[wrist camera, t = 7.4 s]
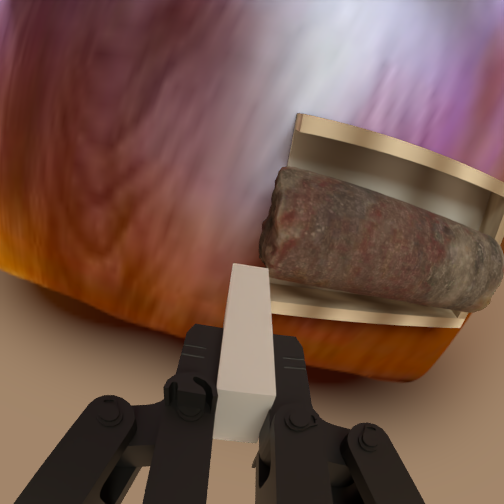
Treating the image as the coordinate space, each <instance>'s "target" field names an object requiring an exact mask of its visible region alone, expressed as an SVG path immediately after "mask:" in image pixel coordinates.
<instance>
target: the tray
mask: <svg viewBox="0 0 504 504" xmlns="http://www.w3.org/2000/svg"><path fill="white" fill-rule="evenodd" d="M287 166H293V167H297V168H300V169H304V170H308V171H312V172H315V173H318V174H322V175H326V176H329V177H333V178H336V179H339V180H342V181H346V182H349V183H352V184H355V185H358V186H361V187H364V188H367V189H370V190H373V191H376V192H379V193H381V194H384V195H387V196H390V197H393V198H395V199H398V200H401V201H404V202H407V203H409V204H412V205H415V206H417V207H419V208H422V209H425V210H428V211H430V212H432V213H435V214H438V215H441V216H443V217H446V218H448V219H451V220H453V221H456V222H458V223H461V224H463V225H465V226H468V227H470V228H472V229H474V230H476V231H479V232H481V233H484V234H486V235H489V236H491V237H492V238H494V239H495V240H496V241H497V242H498V244H499V245H500V244H501V242H502V239H503V237H504V182H502V181H500V180H498V179H496V178H494V177H491V176H489V175H487V174H485V173H483V172H481V171H479V170H476V169H474V168H472V167H470V166H467V165H465V164H463V163H460V162H458V161H455V160H453V159H451V158H448V157H446V156H443V155H441V154H438V153H435V152H433V151H430V150H427V149H425V148H422V147H419V146H416V145H414V144H411V143H408V142H405V141H402V140H399V139H396V138H393V137H389V136H386V135H383V134H380V133H377V132H373V131H370V130H366V129H363V128H359V127H356V126H352V125H348V124H344V123H340V122H336V121H332V120H328V119H324V118H320V117H315V116H311V115H306V114H300V113H297V117H296V122H295V128H294V133H293V138H292V143H291V148H290V154H289V159H288V164H287ZM269 285H270V300H271V313H274V314H282V315H291V316H299V317H309V318H318V319H328V320H338V321H350V322H361V323H374V324H388V325H403V326H421V327H444V328H460V327H461V325H462V323H463V321H464V320H465V318H466V316H467V314H468V312H461V311H455V310H449V309H443V308H436V307H430V306H425V305H419V304H414V303H408V302H403V301H397V300H392V299H385V298H379V297H374V296H368V295H361V294H355V293H349V292H345V291H338V290H333V289H327V288H321V287H315V286H309V285H304V284H299V283H295V282H289V281H282V280H278V279H274V278H270V277H269Z"/></svg>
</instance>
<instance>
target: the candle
mask: <svg viewBox="0 0 504 504" xmlns="http://www.w3.org/2000/svg"><path fill="white" fill-rule="evenodd" d="M271 201H272V205H271V207H270V211H269V216H268V217H267V219H266V220H265V221H263V223H262V234H261V237H260V241H259V254H260V255H259V258H260V259H261V260H262V262H263V263H264V264H265V266H266V268H268V270H269V277H270V278H274V279H278V280H282V281H289V282H295V283H299V284H304V285H309V286H315V287H321V288H327V289H333V290H338V291H345V292H349V293H355V294H361V295H368V296H374V297H379V298H385V299H392V300H397V301H403V302H408V303H414V304H419V305H425V306H430V307H436V308H443V309H449V310H455V311H461V312H470V313H471V312H476V311H480V310H482V309H484V308H486V307H487V305H489V304H490V301H491V297H492V295H493V294H494V292H495V291H496V289H497V288H498V287H499V286H500V283H501V280H502V278H503V274H504V255H503V251H502V249H501V247H500V245H499V244H498V242H497V241H496V240H495V239H494V238H492V237H491V236H489V235H486V234H484V233H481V232H479V231H476V230H474V229H472V228H470V227H468V226H465V225H463V224H461V223H458V222H456V221H453V220H451V219H448V218H446V217H443V216H441V215H438V214H435V213H432V212H430V211H428V210H425V209H422V208H419V207H417V206H415V205H412V204H409V203H407V202H404V201H401V200H398V199H395V198H393V197H390V196H387V195H384V194H381V193H379V192H376V191H373V190H370V189H367V188H364V187H361V186H358V185H355V184H352V183H349V182H346V181H342V180H339V179H336V178H333V177H329V176H326V175H322V174H318V173H315V172H312V171H308V170H304V169H300V168H297V167H293V166H287V167H282V168H281V169H280V171H279V173H278V176H277V178H276V180H275V189H274V191H273V194H272V199H271Z"/></svg>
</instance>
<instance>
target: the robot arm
mask: <svg viewBox="0 0 504 504" xmlns="http://www.w3.org/2000/svg"><path fill="white" fill-rule="evenodd" d="M258 438H259V451H258V453H257V455H256V457H255V459H254V461H253V464H252V468H255V467H256V495H255V496H256V498H255V500H256V501H255V504H425V503H424V501H423V499H422V497H421V495H420V493H419V492H418V490H417V488H416V486H415V484H414V482H413V480H412V479H411V477H410V475H409V473H408V471H407V469H406V468H405V466H404V464H403V462H402V460H401V459H400V457H399V455H398V453H397V451H396V450H395V448H394V446H393V444H392V442H391V441H390V439H389V437H388V435H387V434H386V433H385V432H384V430H383V429H382V428H380V427H378V426H377V425H375V424H371V423H360V424H357V425H355V426H354V427H353V428H352V429H351V430H350V429H347V428H343V427H339V426H336V425H332V424H330V423H327V422H325V421H324V420H322V419H321V418H320V417H319V415H318V414H317V413H316V412H315V410H314V409H313V407H312V404H311V398H310V391H309V385H308V379H307V373H306V365H305V361H304V353H303V347H302V346H301V344H300V343H299V341H298V340H297V339H296V337H292V336H283V335H275V334H273V332H272V316H271V300H270V285H269V270H268V268H262V267H256V266H249V265H243V264H237V263H233V267H232V273H231V279H230V285H229V291H228V298H227V304H226V310H225V317H224V324H223V328H218V327H212V326H206V325H200V324H195V325H194V326H193V327H192V328H191V329H190V330H189V331H188V332H187V334H186V338H185V341H184V346H183V349H182V354H181V356H180V360H179V365H178V368H177V372H176V375H174V376H172V377H171V378H170V379H168V380H167V382H166V384H165V386H164V400H162V401H161V402H158V403H155V404H150V405H136V406H131V405H130V404H129V403H128V402H127V401H126V400H124V399H123V398H120V397H117V396H114V395H104V396H101V397H98V398H96V399H94V400H93V401H92V402H91V403H90V404H89V405H88V406H87V408H86V409H85V410H84V411H83V413H82V414H81V415H80V416H79V418H78V419H77V420H76V421H75V423H74V424H73V425H72V427H71V428H70V429H69V430H68V432H67V433H66V434H65V436H64V437H63V438H62V439H61V441H60V442H59V443H58V445H57V446H56V447H55V449H54V450H53V451H52V452H51V454H50V455H49V457H48V458H47V459H46V460H45V462H44V463H43V465H42V466H41V467H40V468H39V470H38V471H37V472H36V474H35V475H34V477H33V478H32V479H31V481H30V482H29V483H28V485H27V486H26V487H25V489H24V490H23V491H22V493H21V494H20V496H19V497H18V498H17V500H16V501H15V502H14V504H121V502H122V500H123V499H124V497H125V495H126V494H127V492H128V490H129V488H130V487H131V485H132V483H133V481H134V480H135V478H136V476H137V474H138V472H139V471H140V469H141V468H142V467H143V466H150V471H149V475H148V480H147V485H146V489H145V494H144V499H143V504H206V499H207V489H208V478H209V468H210V459H211V449H212V439H221V440H229V441H238V442H248V443H257V441H258Z"/></svg>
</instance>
